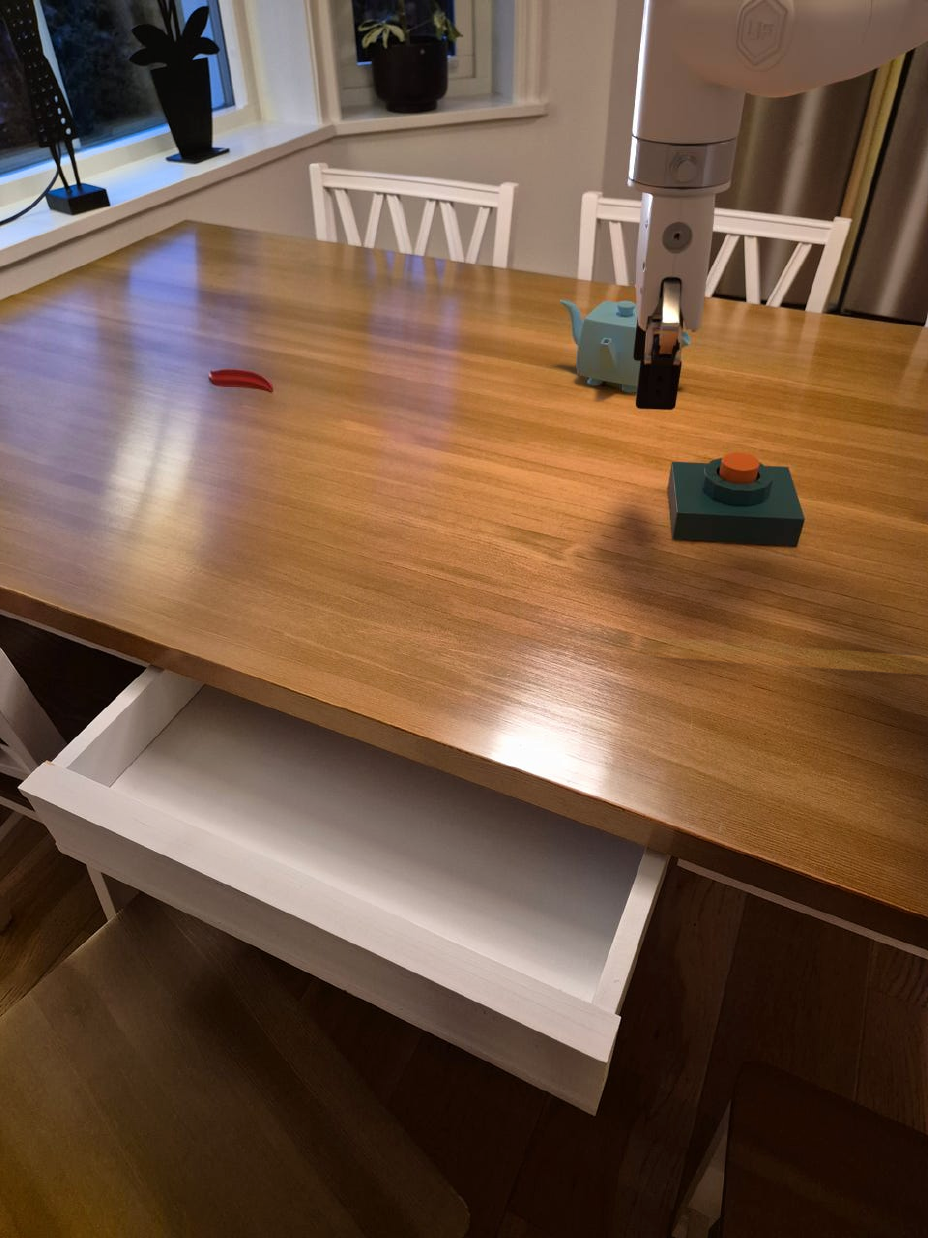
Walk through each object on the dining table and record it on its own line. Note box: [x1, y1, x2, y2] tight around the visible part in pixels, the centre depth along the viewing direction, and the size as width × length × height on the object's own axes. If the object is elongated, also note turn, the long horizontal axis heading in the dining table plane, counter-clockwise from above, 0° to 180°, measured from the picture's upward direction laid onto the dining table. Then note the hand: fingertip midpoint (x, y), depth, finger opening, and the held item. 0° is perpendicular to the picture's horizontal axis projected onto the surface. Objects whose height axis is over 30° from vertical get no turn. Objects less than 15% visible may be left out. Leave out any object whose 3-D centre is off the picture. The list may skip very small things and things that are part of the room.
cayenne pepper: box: [208, 368, 274, 393], centre depth 113 cm, size 12×5×2 cm, turn 50°
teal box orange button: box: [667, 457, 806, 547], centre depth 84 cm, size 12×10×5 cm
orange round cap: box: [719, 452, 761, 484], centre depth 82 cm, size 4×4×2 cm
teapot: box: [559, 299, 692, 393], centre depth 108 cm, size 18×14×10 cm
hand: (652, 382), depth 72 cm, fingers open, 9 cm apart
